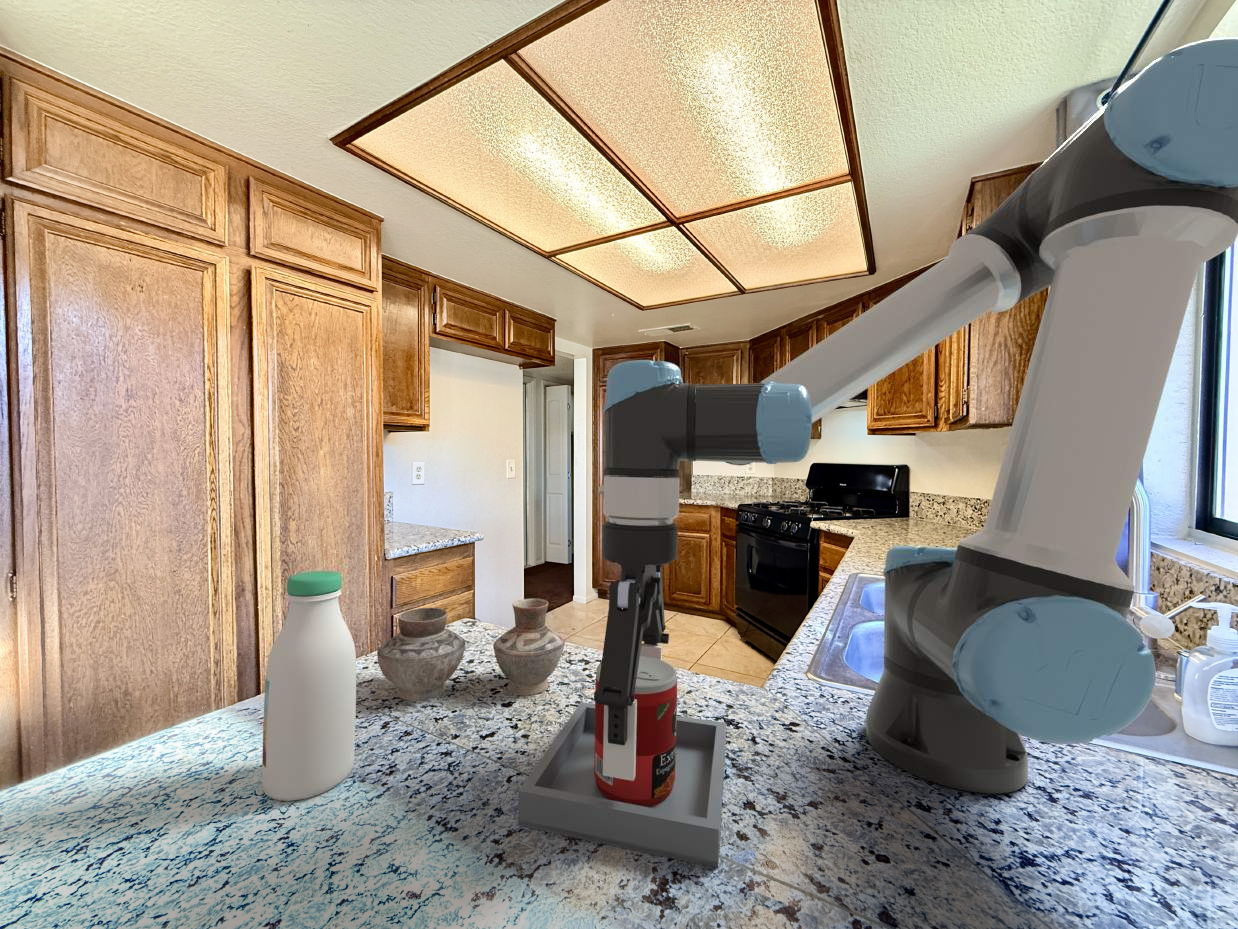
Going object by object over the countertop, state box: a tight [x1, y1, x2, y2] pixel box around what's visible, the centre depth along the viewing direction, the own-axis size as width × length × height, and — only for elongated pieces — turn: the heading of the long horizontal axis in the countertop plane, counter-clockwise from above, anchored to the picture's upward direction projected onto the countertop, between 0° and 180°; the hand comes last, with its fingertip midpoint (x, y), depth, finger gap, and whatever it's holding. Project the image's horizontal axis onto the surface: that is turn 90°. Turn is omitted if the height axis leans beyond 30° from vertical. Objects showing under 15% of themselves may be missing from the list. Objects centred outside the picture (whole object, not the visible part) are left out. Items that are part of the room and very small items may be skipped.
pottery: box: [376, 598, 566, 702], centre depth 69 cm, size 11×25×12 cm, turn 99°
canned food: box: [594, 656, 678, 807], centre depth 48 cm, size 8×8×11 cm
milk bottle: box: [261, 570, 357, 802], centre depth 49 cm, size 8×8×20 cm
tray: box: [517, 701, 727, 869], centre depth 49 cm, size 17×17×3 cm
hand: (635, 735), depth 49 cm, fingers open, 13 cm apart
